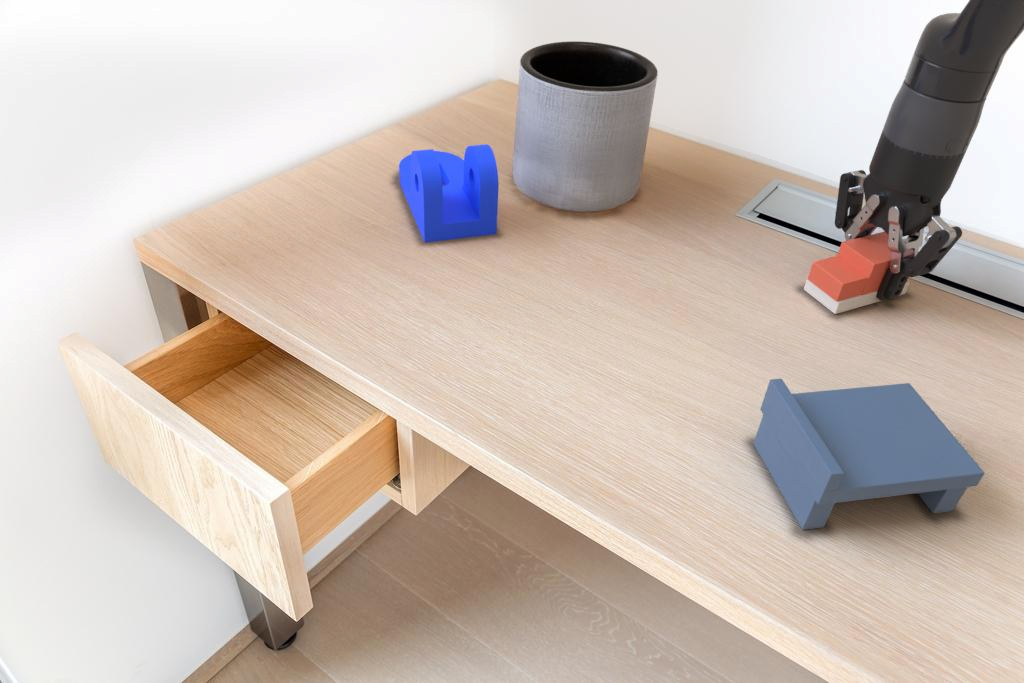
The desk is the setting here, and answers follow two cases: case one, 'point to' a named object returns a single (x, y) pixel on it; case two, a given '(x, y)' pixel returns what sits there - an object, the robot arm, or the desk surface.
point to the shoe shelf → (859, 449)
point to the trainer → (851, 274)
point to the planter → (582, 125)
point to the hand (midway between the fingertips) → (865, 283)
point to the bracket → (452, 192)
